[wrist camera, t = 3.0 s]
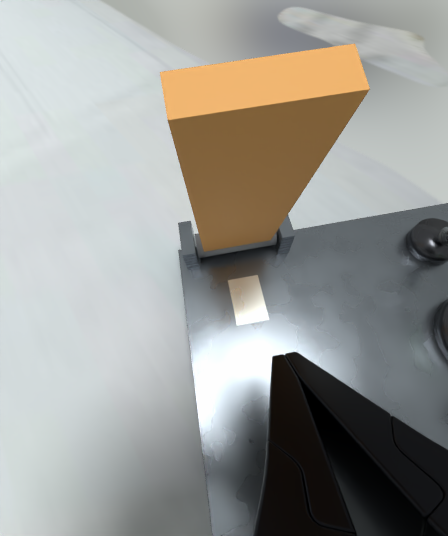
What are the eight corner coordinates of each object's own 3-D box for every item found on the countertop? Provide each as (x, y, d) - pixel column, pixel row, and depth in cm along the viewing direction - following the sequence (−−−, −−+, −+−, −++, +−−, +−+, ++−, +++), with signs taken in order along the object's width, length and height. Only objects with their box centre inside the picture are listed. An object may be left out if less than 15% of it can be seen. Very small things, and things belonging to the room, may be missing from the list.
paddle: (273, 247, 18) (390, 94, 6) (199, 260, 18) (150, 131, 5) (268, 225, 18) (369, 34, 6) (196, 238, 18) (140, 66, 6)
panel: (699, 560, 12) (878, 625, 9) (234, 674, 11) (233, 795, 8) (452, 204, 21) (493, 169, 18) (181, 251, 20) (170, 224, 17)
